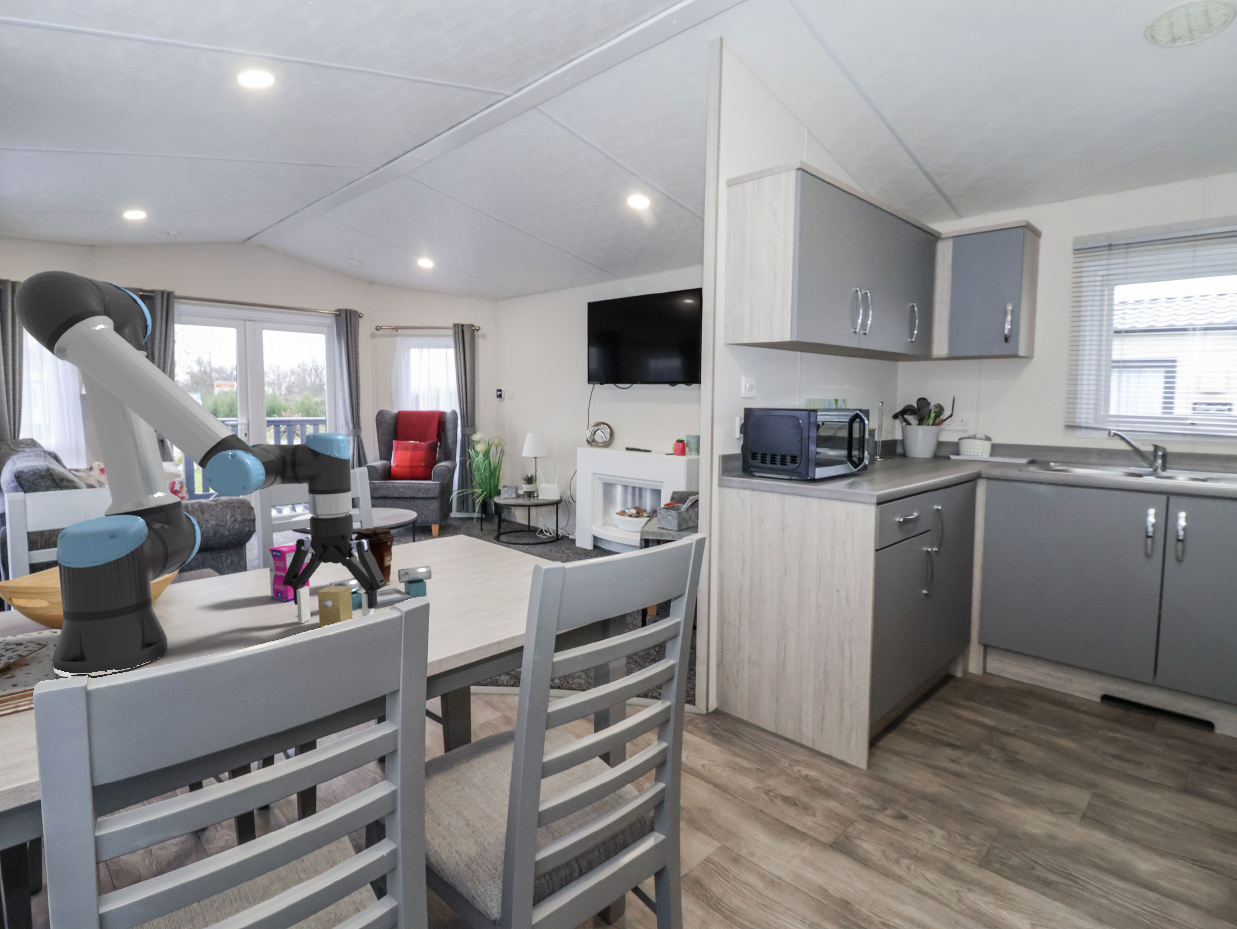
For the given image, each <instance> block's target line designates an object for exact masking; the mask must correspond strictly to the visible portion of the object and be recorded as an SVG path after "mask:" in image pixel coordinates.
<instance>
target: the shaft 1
mask: <svg viewBox="0 0 1237 929" xmlns="http://www.w3.org/2000/svg"><path fill="white" fill-rule="evenodd" d="M329 586H348V587H351V595H352V611H356V610H360V609H362V593H363V592H362V593H361V591H365V590H364V589H363V587H362V586H361V585H360V584H359V582H358V581H357V580H356V579H355V577H351V578H347V579H343V580H338V581H334V582H330V583H329V585H328V587H329Z"/></svg>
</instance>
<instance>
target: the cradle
mask: <svg viewBox="0 0 1237 929" xmlns="http://www.w3.org/2000/svg"><path fill="white" fill-rule="evenodd" d="M411 598H412V597H411V596H410V595H408V594H406V593H405V591H403V590H401V589H399V588H397V587H393V588H387V589H382V590H377V606H376V607H375V608H374V610H375V609H380V608H386V607H391V606H394V605H393V604H396V603H400V602H403V601H405V600H408V599H411ZM412 599H413V598H412ZM396 605H397V604H396Z"/></svg>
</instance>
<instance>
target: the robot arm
mask: <svg viewBox="0 0 1237 929" xmlns="http://www.w3.org/2000/svg"><path fill="white" fill-rule="evenodd" d="M13 305H14V312H15V315H16V317H17V319H18V321H19V322H20V324H21V326H22V327H23V328H24V330H25V331H26V332H27V333H28V334H29V335H30V336H31V337H32V338H33V339H35V340H36V341H37V342H38V343H39V344H40V345H41V346H43V348H45V349H46V350H47V351H48V352H49V353H51V354H52V355H53V356H54V357H56V358H57V359H58V360H60V361H62V362H63V361H66V362H67V363H69V364H71V365H72V366H75V367H76V368H78V370H79V371H80V375H81V379H82V384H83V387H84V388H83V389H84V391H85V394H86V396H85V397H86V399H87V403H88V408H89V412H90V416H91V419H92V424H93V428H94V432H95V435H96V436H95V437H96V440H97V444H98V449H99V452H100V457H101V460H102V465H103V469H104V472H105V476H106V480H107V484H108V485H107V486H108V490H109V493H110V497H111V500H112V501H111V504H110V505H109V506H108V508H107V509H106V510H105V511H104V516H100V517H96V518H94V519H86V520H85V519H84V520H83V521H79V522H76V523H73V524H71V525H69V526H66V527H65V528H64V529H62V531H60V533H59V534H58V536H57V542H56V546H57V549H56V556H55V558H56V560H57V563H58V564H57V565H58V573H59V574H58V575H59V583H60V594H61V595H60V596H61V606H62V614H63V615H62V616H63V624H62V628H61V630H60V633H59V636H58V639H57V644H56V646H55V650H54V653H53V656H52V667H54V668H55V669H57V670H61V671H64V672H69V673H92V672H98V671H105V672H107V670H113V669H115V670H122V669H127V668H133V667H136V666H137V665H141V664H143V663H146V662H149V661H153V660H155V659H157V658H158V657H160V658H162V657H163V656H165V655H166V654H167V652H168V650H169V646H168V638H167V637H168V636H167V634H166V633H165V631H164V628H163V626H162V624H161V622H160V620H159V618H158V617H157V614H156V613H155V611H154V608H153V600H152V586H151V582H153V581H155V580H157V579H160V578H161V577H164V576H166V575H170V574H173V573H175V572H177V571H178V570H180V569H181V568H182V567H184V565H187V564H188V563H189V562H190V561H191V560H192V559H193V558H194V557H195V556H196V554H197V552H198V551H199V548H200V545H201V540H202V536H201V535H202V534H201V530H200V529H201V528H200V527H199V525H198V523H197V520H195V518H194V517H193V516H191V515H190V514H188V512H185V510H184V508H183V503H182V500H181V497H179V496H177V495H176V494H173V493H171V492H170V489H169V486H168V481H167V477H166V473H165V468H164V465H163V460H162V456H161V451H160V447H159V443H158V438H157V435H156V432H157V433H159V434H160V435H161V436H162V437H163V438H165V439H166V440H167V441H168V442H170V443H171V444H172V445H173V446H174V447H175V448H177V450H179V451H180V452H181V453H182V454H184V455H185V456H186V457H188V459H189V460H191V461H193V462H194V463H195V464H196V465H197V466H198V467H200V468H201V469H202V470H203V471H204V477H205V480H206V482H207V484H208V487H209V488H210V489H211V490H212V491H214V492H215V493H216V494H218V495H220V496H223V497H228V498H229V497H230V498H231V497H243V496H248V495H251V494H253V493H255V492H257V491H259V490H264V489H266V488H270V487H273V486H277V485H295V484H296V485H297V484H298V485H302V484H303V485H304V484H307V494H308V496H307V497H308V499H307V500H308V514H310V515H311V516H310V518H309V532H310V533H309V534H310V536H311V537H312V538H311V539H310V537H309V536H305V537H302V538H298V539H297V540H296V542H295V544H296V551H295V554H294V556H293V558H292V561H291V563H290V566H289V568H288V571H287V573H286V575H285V578H284V580H283V584H284V585H285V586H287V585H288V586H291V587H292V588H293V592H294V600H293V603H294V605H295V606H296V605H297V619H298V620H297V621H298V622H297V623H298V624H304V623H305V622H307V621H309V620H311V601H310V600H311V599H310V598H311V597H310V596H311V594H310V595H309V586H305V587H304V585H306V582H307V581H308V580H309V581H310V579H311V577H312V576H313V575H314V573H315V572H316V571H317V569H318V568H319V567H320V565H321V564H328V563H332V564H341V565H342V566H343V567H345V568H346V569H347V570H348V571H349V573H350V574H351V575H352V576H353V578H355V579H356V580H357V581H358V582H359V584H360V585H361V586H362V587H363V589H364V590H363V592H362V608H361V610H362V611H361V612H362V617H363V616H367V615H371V614H374V615H375V609H374V608H375V607H376V606H377V591H380V589H382V588H385V587H386V586H387V585H386V581H385V579H384V577H383V575H382V573H381V571H380V569H379V567H378V565H377V563H376V561H375V559H374V557H373V555H372V553H371V551H370V546H369V541H368V539H363V540H361V541H355V540H354V539H353V532H354V523H353V522H354V520H353V515H352V513H350V512H352V510H353V500H352V499H353V498H352V485H351V484H352V483H351V482H352V481H351V480H352V479H351V476H352V475H351V474H352V473H351V459H352V458H351V456H352V455H351V454H350V445H349V437H348V436H347V435H346V434H344V433H342V432H316V433H315V432H314V433H308V434H306V436H305V437H304V438H305V441H304V443H298V444H288V443H286V444H283V443H282V444H281V443H280V444H279V443H277V444H275V443H274V444H268V443H267V444H265V443H256V444H255V443H254V444H248V443H247V442H245V441H244V440H243V439H242V438H240V437H239V436H238V435H237V434H236V433H235V432H234V431H232V430H231V429H230V428H229V427H228V426H227V425H226V424H224V423H223V422H222V421H221V420H220V419H218V418H217V416H215V415H214V414H213V413H212V412H210V411H209V410H208V409H207V408H206V407H205V406H203V405H202V404H201V403H199V401H197V400H196V399H195V398H194V397H193V396H191V395H190V393H188V392H187V391H186V390H184V389H183V388H182V387H181V386H180V385H178V383H176V382H175V381H174V380H173V379H171V378H170V377H169V376H168V375H167V374H166V373H165V372H163V371H162V370H161V369H160V368H158V366H156V365H155V364H154V363H153V362H151V361H150V359H148V358H147V357H146V356H147V349H146V345H145V343H146V341H147V338H148V336H150V335H151V332H152V317H151V315H150V312H149V309H148V308H147V306H146V305H145V304H144V302H143V301H142V300H141V299H140V297H138V296H137V295H136V294H134V293H132V292H131V291H129V289H128V290H127V288H123V287H122V286H119V285H118V284H114V283H111V282H108V281H103V280H101V281H100V280H97V279H93V278H90V277H86V276H83V275H79V274H76V273H72V272H68V271H63V270H48V271H47V270H45V271H43V272H37V273H35V274H33V275H31V276H29V277H27V278H26V279H25V280H23V282H22V283H20V285H19V286H18V288H17V290H16V292H15V294H14V300H13ZM155 431H156V432H155ZM353 549H354V552H356V553H357V555H356V554H355V553H354V552H353ZM310 550H313V555H312V556H311V557H310V558H309V559H308V564H307V565H306V566H305V568H304V569H303V570H302V572H301V573H300V571H301V569H302V566H303V564H304V561H305V559H306V556H307V554H308V553H309V551H310ZM358 556H359V559H360V561H361V563H362V565H363V566H362V565H361V564H360V563H359V560H358ZM363 567H364V568H365V569H364V568H363ZM299 573H300V574H299ZM164 654H165V655H164ZM161 656H162V657H161ZM157 660H158V659H157ZM155 661H156V660H155ZM153 662H154V661H153ZM143 666H144V665H141V666H140V667H143ZM131 670H132V669H129V670H123V671H118V672H112V674H111V675H113V673H114V674H117V673H122V672H123V673H124V672H126V671H131ZM86 675H88V676H91V675H89V674H77V675H71V676H86ZM101 676H102V675H99V676H98V677H101ZM103 676H107V675H106V674H104V675H103ZM95 677H97V676H95ZM95 677H94V678H95Z"/></svg>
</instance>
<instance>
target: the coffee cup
mask: <svg viewBox="0 0 1237 929" xmlns="http://www.w3.org/2000/svg"><path fill="white" fill-rule="evenodd" d="M391 531H392V530H391V529H390V528H386V527H378V528H375V527H371V528H369V527H368V528H361V529H358V532H357V534H356V536H355V537H354V539H353V540H354V541H361V540H363V539H368V541H369V546H370V551H371V553H372V555H373V557H374V559H375V561H376V563H377V565H378V567H379V569H380V571H381V573H382V575H383V577H384V579H385V581H386V586H387V585H388V586H389V585H390V584H391V579H390V578H391V572H392V571H391V569H392V558H393V550H392V549H393V545H394V544H393V543H394V541H395V536H394V534H393V533H392V532H391ZM357 560H358V561H359V563H360V564H361V565H362V563H361V561H360V559H359V556H358V555H357ZM362 566H363V565H362ZM363 568H364V567H363ZM364 569H365V568H364Z"/></svg>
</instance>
